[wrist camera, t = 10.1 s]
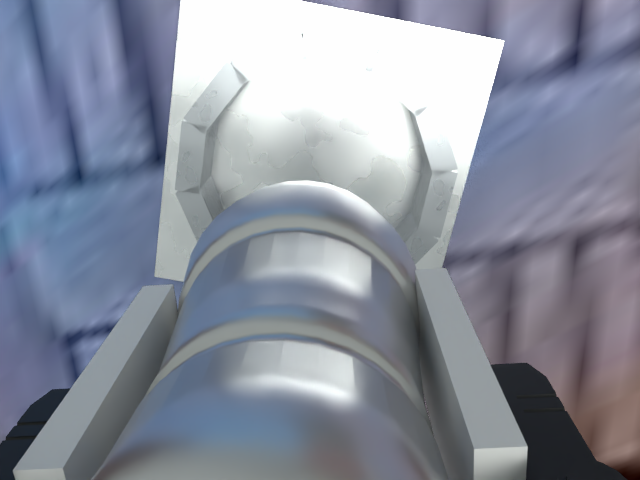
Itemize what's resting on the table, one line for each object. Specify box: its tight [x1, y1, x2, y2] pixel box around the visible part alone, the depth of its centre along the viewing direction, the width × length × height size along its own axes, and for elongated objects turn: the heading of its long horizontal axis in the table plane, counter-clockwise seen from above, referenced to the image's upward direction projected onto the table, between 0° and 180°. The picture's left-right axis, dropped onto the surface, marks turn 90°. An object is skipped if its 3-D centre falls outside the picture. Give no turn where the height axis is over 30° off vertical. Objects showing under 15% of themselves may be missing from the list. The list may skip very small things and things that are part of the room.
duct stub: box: [154, 0, 504, 282], centre depth 31 cm, size 16×16×4 cm
